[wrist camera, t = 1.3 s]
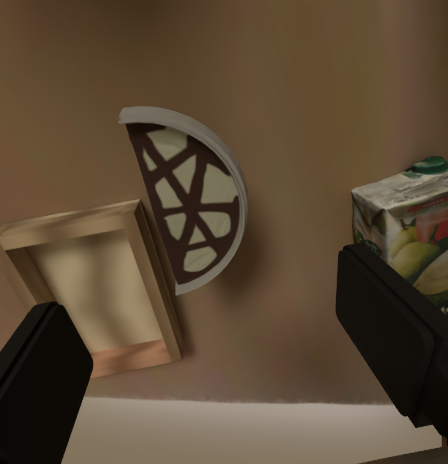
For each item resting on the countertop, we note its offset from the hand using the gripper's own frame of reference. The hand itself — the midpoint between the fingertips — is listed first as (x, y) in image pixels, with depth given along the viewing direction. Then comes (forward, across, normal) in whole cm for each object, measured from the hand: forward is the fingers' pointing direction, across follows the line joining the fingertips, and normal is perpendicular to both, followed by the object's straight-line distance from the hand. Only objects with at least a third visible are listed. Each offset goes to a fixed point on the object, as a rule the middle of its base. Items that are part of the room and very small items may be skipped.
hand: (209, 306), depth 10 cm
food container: (+18, 0, 0) cm, 18 cm away
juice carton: (+18, -21, +13) cm, 31 cm away
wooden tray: (+18, +12, +11) cm, 24 cm away
